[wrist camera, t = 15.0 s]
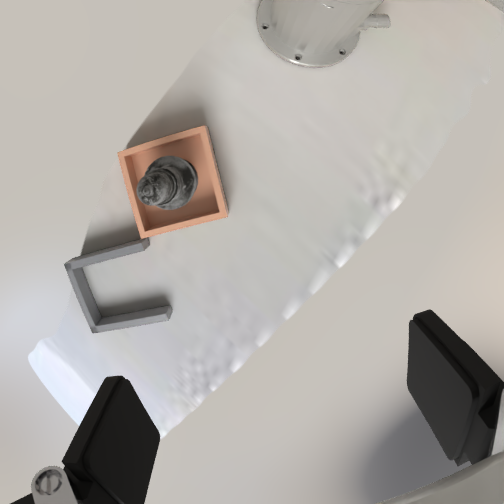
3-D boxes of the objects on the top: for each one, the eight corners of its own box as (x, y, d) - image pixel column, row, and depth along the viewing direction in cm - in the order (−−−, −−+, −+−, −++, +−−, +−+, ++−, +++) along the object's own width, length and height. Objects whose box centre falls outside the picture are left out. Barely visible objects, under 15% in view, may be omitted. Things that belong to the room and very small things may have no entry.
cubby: (147, 237, 39) (141, 242, 37) (172, 311, 42) (168, 320, 40) (72, 258, 40) (64, 264, 37) (99, 324, 43) (92, 333, 40)
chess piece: (142, 184, 37) (100, 198, 25) (172, 145, 35) (140, 141, 24) (179, 215, 38) (152, 241, 26) (211, 176, 37) (194, 186, 25)
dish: (208, 127, 35) (204, 125, 33) (229, 212, 38) (227, 217, 36) (126, 152, 36) (117, 152, 33) (148, 232, 39) (141, 238, 36)
